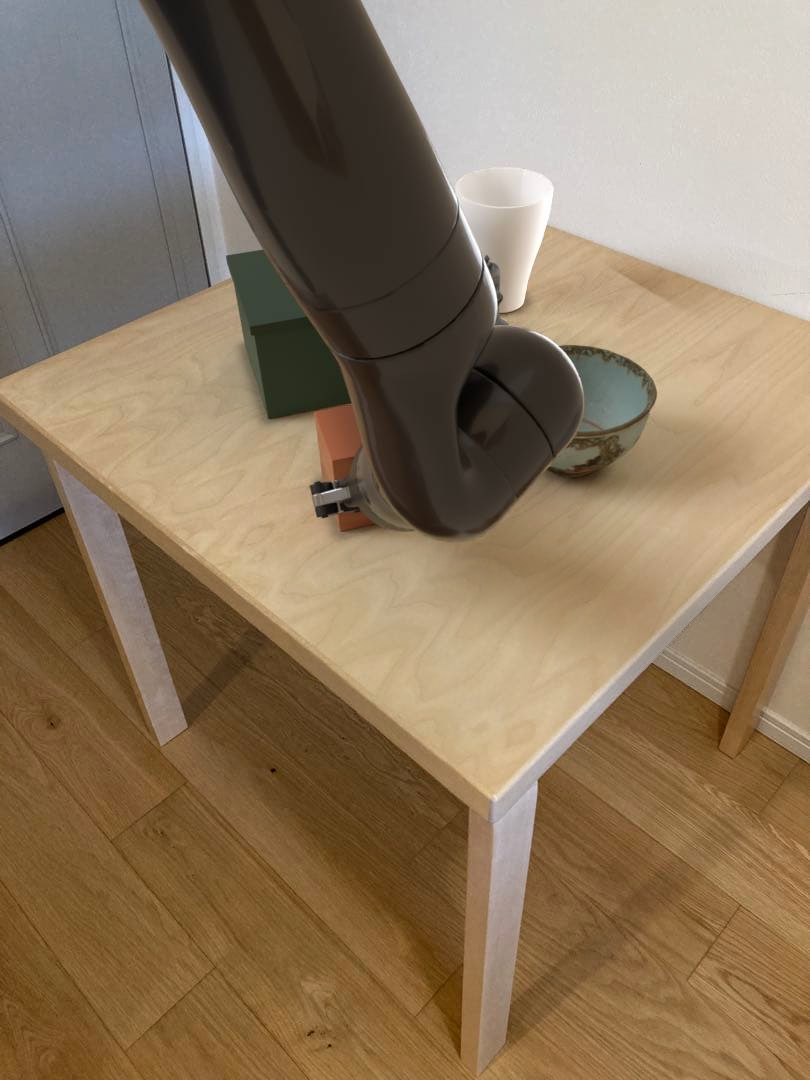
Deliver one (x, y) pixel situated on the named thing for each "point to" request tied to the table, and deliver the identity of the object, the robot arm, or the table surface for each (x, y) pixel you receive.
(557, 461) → the bowl
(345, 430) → the block
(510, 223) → the cup
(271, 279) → the box
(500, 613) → the table surface
